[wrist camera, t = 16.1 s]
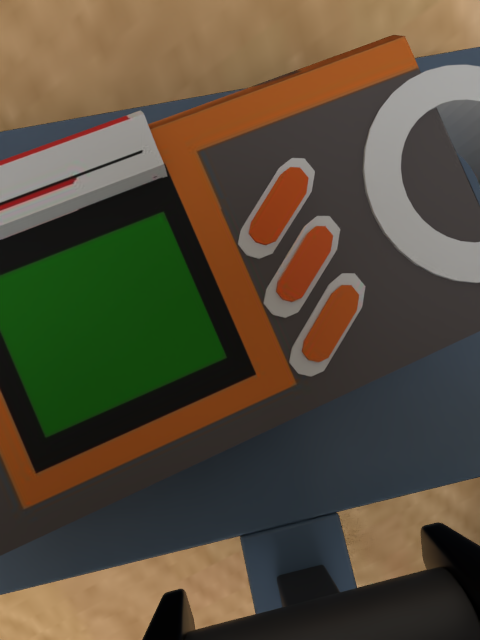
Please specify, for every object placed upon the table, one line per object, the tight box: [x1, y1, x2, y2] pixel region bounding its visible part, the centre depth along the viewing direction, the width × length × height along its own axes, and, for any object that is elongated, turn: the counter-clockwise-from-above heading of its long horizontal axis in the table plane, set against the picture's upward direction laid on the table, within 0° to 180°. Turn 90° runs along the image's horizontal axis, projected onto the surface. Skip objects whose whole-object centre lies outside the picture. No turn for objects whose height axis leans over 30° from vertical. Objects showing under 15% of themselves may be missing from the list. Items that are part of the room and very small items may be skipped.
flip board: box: [0, 47, 480, 640], centre depth 10 cm, size 14×17×4 cm
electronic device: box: [0, 35, 480, 556], centre depth 10 cm, size 7×3×15 cm
